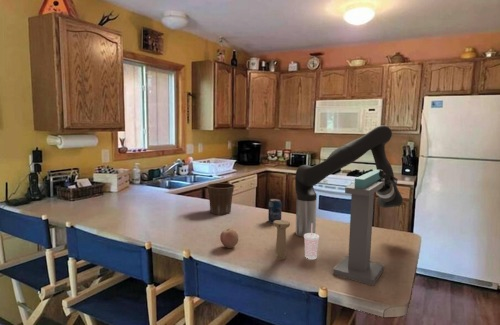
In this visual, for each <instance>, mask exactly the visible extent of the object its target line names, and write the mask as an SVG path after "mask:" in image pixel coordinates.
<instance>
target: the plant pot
mask: <svg viewBox="0 0 500 325" xmlns="http://www.w3.org/2000/svg"><path fill="white" fill-rule="evenodd" d="M206 188H207V192H208V198H209V199H208V200H209V211H210V213H211V214H213V215H218V216H219V215H221V216H222V215H226V214H231V211H232V204H233V193H234V189H235V184H232V183H226V182H213V183H208V184H207V185H206Z"/></svg>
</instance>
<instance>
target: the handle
mask: <svg viewBox="0 0 500 325" xmlns="http://www.w3.org/2000/svg"><path fill="white" fill-rule="evenodd" d="M272 224H273V226H274V227H276V230H277V231H276V242H275V252H276V260H278V261H285V259H286V253H287V228H289V227H290V226H291V222H290V221H289V220H285V219H284V220H282V219H281V220H275V221H274V222H273V223H272Z"/></svg>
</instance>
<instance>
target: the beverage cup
mask: <svg viewBox="0 0 500 325" xmlns="http://www.w3.org/2000/svg"><path fill="white" fill-rule="evenodd" d="M312 227H313V223H311V233H306V234H304V237H303V238H304V257H306V258H305V259H307V258H308V259H307V260H316V259H317V257H318V248H319V239H320V235H319V234H318V233H316V232H315V233H312Z"/></svg>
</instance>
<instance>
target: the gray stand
mask: <svg viewBox="0 0 500 325" xmlns="http://www.w3.org/2000/svg"><path fill="white" fill-rule="evenodd" d="M354 186H355V182H354V183H352V184H349V185H347V186H345V187H344V194H349V195H351V196H350V197H351V198H350V220H349V237H348V238H349V239H348V255H346V256H344V257H343V259H341V261H340V262H339V263H338V264H336V265H335V267H333V268H332V274H333V275H334V276H338V277H341V278H345V279H348V280H353V281H356V282H357V283H358V282H360V283H362V284H364V285H365V284H366V285H369V286H374V285H375V284H376V282H377V280H378V279H379V278H380V277H381V275H382V273H383V272H384V270H385V268H384V267H385V265H384V264H381V263H377V262H372V261H371V248H372V234H373V219H374V218H373V216H374V215H373V214H374V199H375V198H374V197H375V196H374V195H375V193H376V191H378V190H379V189H381V188H382V187H383V182H378V181H376V182H374V183H372V184H370V185H369V186H367V187H365V188H356V187H354Z"/></svg>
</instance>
